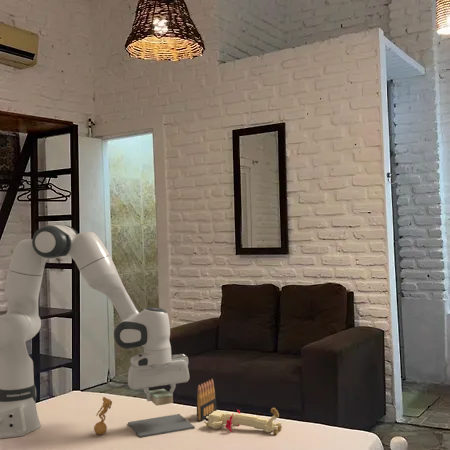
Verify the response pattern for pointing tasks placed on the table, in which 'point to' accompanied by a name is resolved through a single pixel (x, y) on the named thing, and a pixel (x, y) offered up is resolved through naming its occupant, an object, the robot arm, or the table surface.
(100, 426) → the figurine
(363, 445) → the table surface
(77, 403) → the table surface
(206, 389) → the ammunition clip
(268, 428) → the cat figure
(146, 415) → the table surface
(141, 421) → the rubber mat
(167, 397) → the pale green streaked tile
